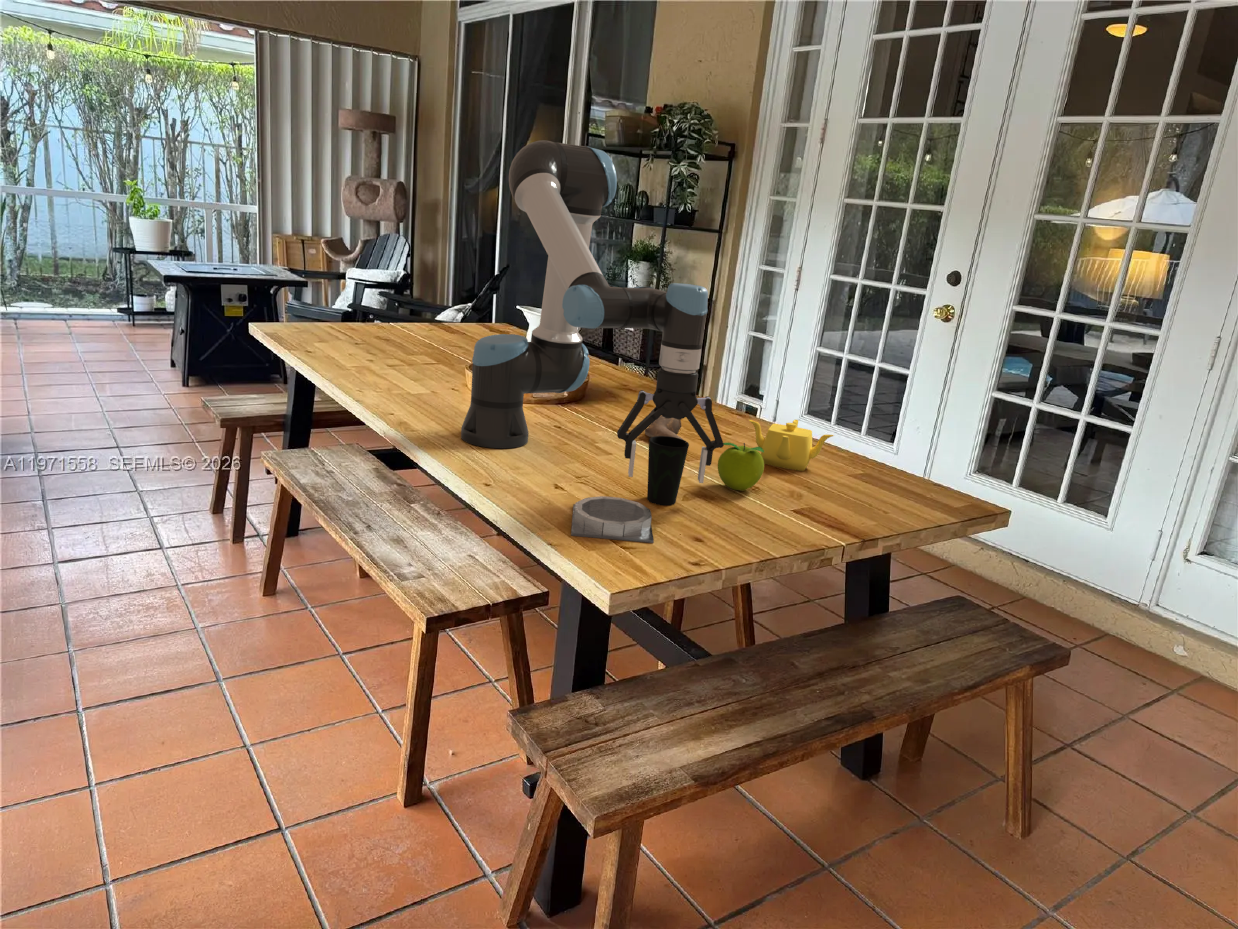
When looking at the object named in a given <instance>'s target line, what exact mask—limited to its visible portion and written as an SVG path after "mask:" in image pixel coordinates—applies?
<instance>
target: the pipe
mask: <svg viewBox="0 0 1238 929" xmlns="http://www.w3.org/2000/svg"><path fill="white" fill-rule="evenodd" d="M681 420H682V419H681ZM681 420H679V419H675V418H669V419H668V418H665V417H663V416H662V415H661V416H660V417H659V418H658V419H657V420H655V421H654V422H653V423H652V424H651V425H650V426H649V427H648V428H647V429H645V430H644V434H645V436H647V437H649V439H650V438H651V437H654V436H669V437H676V438H680V439H683V437H681V436H680V435H678V434H679V432H680V430H681V429H682V421H681Z"/></svg>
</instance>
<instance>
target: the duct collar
mask: <svg viewBox="0 0 1238 929" xmlns="http://www.w3.org/2000/svg"><path fill="white" fill-rule="evenodd" d="M572 505H573V506H572V519H571V530H570V535H571V536H572V537H583V538H584V537H585V538H594V539H605V540H616V541H628V542H637V543H638V542H639V543H646V544H647V543H648V544H649V543H650V544H654V543H655V542H654V541H655V540H654V534H653V533H654V532H653V528H652V512H651V509H650V508H648V507H646V506H645V505H644V504H642V503H641V502H638V501H634V500H630V499H628V498H623V497H615V496H605V495H604V496H603V495H600V496H591V497H585V498H582V499H580V500H578V501H576V502H575V503H573V504H572Z"/></svg>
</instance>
